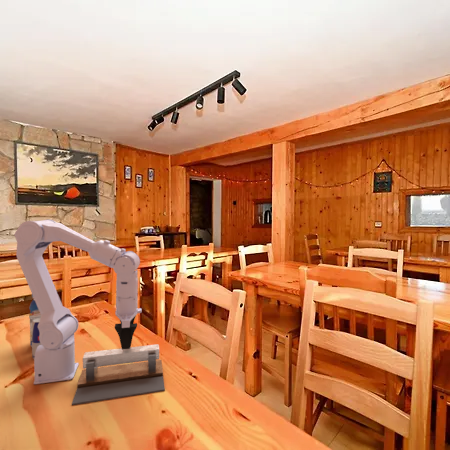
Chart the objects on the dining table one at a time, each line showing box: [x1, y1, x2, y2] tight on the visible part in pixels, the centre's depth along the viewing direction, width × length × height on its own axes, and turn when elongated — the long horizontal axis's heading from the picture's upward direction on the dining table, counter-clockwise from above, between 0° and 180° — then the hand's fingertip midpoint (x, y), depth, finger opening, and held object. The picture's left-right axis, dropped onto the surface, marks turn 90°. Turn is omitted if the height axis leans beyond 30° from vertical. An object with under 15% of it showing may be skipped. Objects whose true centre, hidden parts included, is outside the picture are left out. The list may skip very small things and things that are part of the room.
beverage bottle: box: [28, 284, 56, 348], centre depth 97 cm, size 8×8×20 cm
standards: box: [76, 354, 164, 389], centre depth 81 cm, size 22×7×6 cm, turn 106°
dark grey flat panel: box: [71, 375, 166, 406], centre depth 74 cm, size 22×6×1 cm, turn 106°
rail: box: [82, 344, 160, 370], centre depth 80 cm, size 20×3×3 cm, turn 106°
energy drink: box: [31, 317, 41, 360], centre depth 90 cm, size 5×5×12 cm
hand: (126, 342), depth 81 cm, fingers open, 7 cm apart
